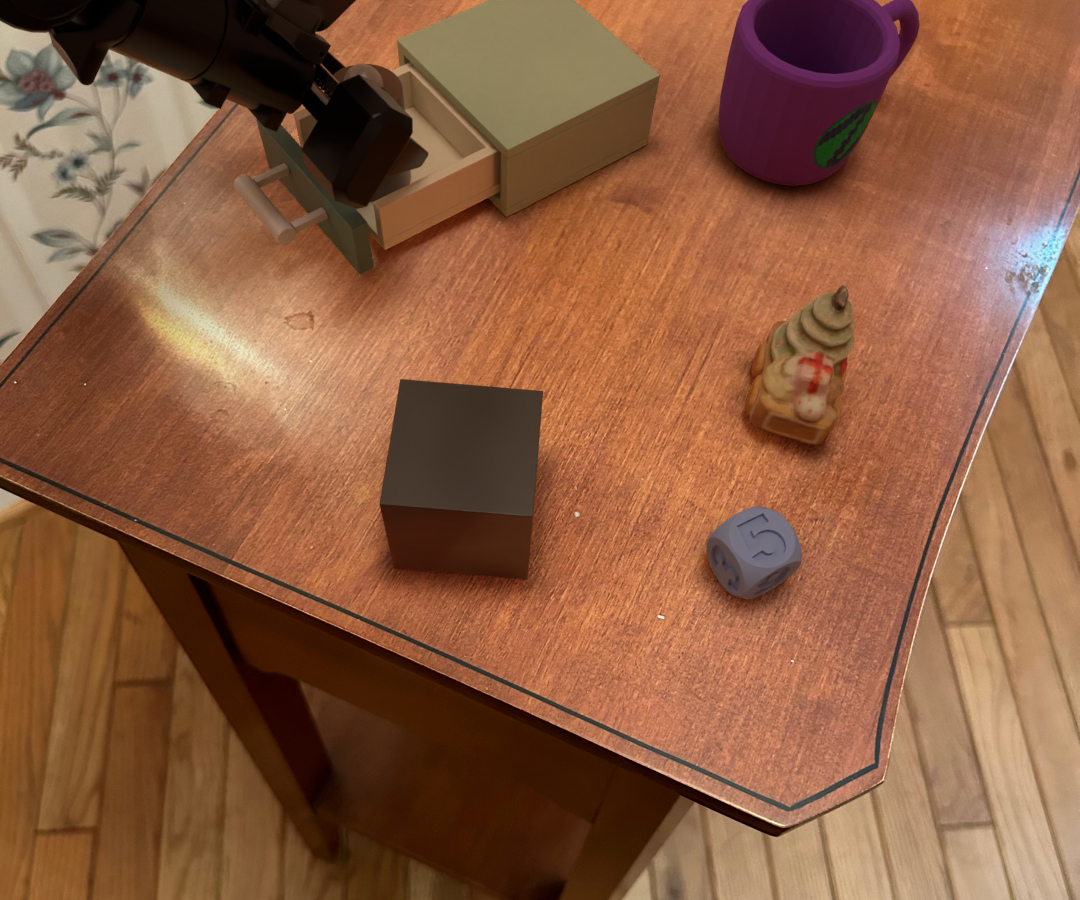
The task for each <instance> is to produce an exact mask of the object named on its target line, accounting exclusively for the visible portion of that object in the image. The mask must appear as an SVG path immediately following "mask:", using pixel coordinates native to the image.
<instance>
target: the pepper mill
mask: <svg viewBox="0 0 1080 900" xmlns="http://www.w3.org/2000/svg"><path fill="white" fill-rule="evenodd" d="M358 74H359V75H361V76H363V77H365V78H367V79H369V80H371V81H372V82H374V83H375V84H376V85H378V86H379V87H380V88H381V87H383V88H384V89H385V90H386V91H387V92H388V93H389V94H390V96H391V97H392V98H393V99H394V100H395V101H396V102H397V103H398V104H399V105H400V106H401V107H402V108H403V109H404V110H405V106H404V95H403V87H402V83H401V81H400V79H399V78H398V77H397V76H396V74H394V73H393V72H392V70H390V69H389V68H387V67H384V66H381V65H378V64H373V63H356V64H351V65H348V66H345V68H343V69H341V70H339V71H337V72H336V73H335V74H333V76H334V77H335V78H336V79H337V80H338V82H339V83H340V82H342V81H345V80H347V79H349V78H351V77H354V76H356V75H358ZM326 95H327V94H326ZM327 96H328V95H327ZM410 180H411V170H409V171H406V172H403V173H399V174H396V175H393V176H389V177H387V178H384V180H383V181H382V183H381V185H380V186H379V188H378V189H377V191H376V193H375V194H374V196H373V197H372V199H371V201H370V202H374V201H376V200H378V199H380V198H382V197H384V196H386V195H388V194H391V193H393V192H395V191H397V190H399V189H401V188H403V187H405V186H407V185H409V183H410Z"/></svg>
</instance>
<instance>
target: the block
mask: <svg viewBox="0 0 1080 900" xmlns="http://www.w3.org/2000/svg"><path fill="white" fill-rule="evenodd" d="M543 400H544V390H536V389H526V388H525V389H524V388H513V387H499V386H490V385H477V384H466V383H453V382H443V381H440V382H439V381H430V380H416V379H406V378H405V379H404V378H400V379H399V384H398V390H397V396H396V401H395V408H394V414H393V419H392V426H391V431H390V432H391V433H390V436H389V444H388V450H387V457H386V462H385V468H384V474H383V481H382V485H381V486H382V487H381V493H380V499H379V503H378V504H379V509H380V513H381V518H382V522H383V526H384V531H385V535H386V541H387V545H388V549H389V553H390V558H391V562H392V567H393V569H394V570H403V571H415V572H416V571H418V572H430V573H440V574H441V573H442V574H453V575H455V574H456V575H465V576H467V575H468V576H477V577H490V578H503V579H513V580H514V579H516V580H528V579H529V569H530V558H531V547H532V546H531V545H532V533H533V521H534V511H535V499H536V498H535V496H536V485H537V473H538V460H539V448H540V436H541V423H542V412H543Z"/></svg>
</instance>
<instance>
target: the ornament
mask: <svg viewBox="0 0 1080 900" xmlns="http://www.w3.org/2000/svg"><path fill="white" fill-rule="evenodd" d="M849 296H850V294H849V289H848V288H847V285H841V286H839V287H838V289H837V290H836V291H828V292H825V293H822V294H821V295H819V296H817V297H816V298H815V299H814V300H812V301H810V302H808V303H807V304H806V305H805V306H804V307H803V308H802V309H800V310H798V311H797V312H795V314H793V315H792V316H791V317H790V318H789V320H778V321H776V322H775V323H774V324H772V326H771V328H770V330H769V332H768V334H767V336H766V338H765V340H764V341H761V342H760V343H759V345H758V347H757V348H756V351H755V354H754V356H753V360H752V364H751V371H750V372H751V376H752V377H753V378H754V379H753V381H752V383H751V386H750V389H749V392H748V394H747V398H746V403H745V408H746V410H747V412H748V415H749V419H750V422H751V424H753V425H754V427H755V428H757V429H759V430H761V431H765V432H768V433H772V434H774V435H778V436H781V437H785V438H787V439H792V440H794V441H797V442H800V443H805V444H808V445H812V446H818V445H820V444H821V443H822V442H824V440H825V438H827V436H828V435H829V434H830V432H831V431H832V430H834V429H835V427H836V425H837V424H838V421H839V418H840V416H841V407H842V399H841V396H842V394H843V391H844V387H845V384H844V383H845V379H846V376H847V369H848V356H849V354H850V352H851V351H852V349H853V348H854V345H855V343H856V342H855V341H856V339H855V329H856V322H855V319H854V318H855V309H854V306H853V304H852V302H851V301H850V300H849Z"/></svg>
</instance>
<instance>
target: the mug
mask: <svg viewBox="0 0 1080 900" xmlns="http://www.w3.org/2000/svg"><path fill="white" fill-rule="evenodd" d="M897 21H899V31H898V27H897V25H896V23H895V22H897ZM920 25H921V23H920V16H919V11H918V9H917V7H916V5H915V4H914V2H913V0H890V1H889V2H887V3H885V4H884V5H881V4H880V3H879V2H878V1H876V0H746V1H745V3H743V5H742V6H741V8H740V11H739V14H738V16H737V19H736V23H735V27H734V31H733V35H732V39H731V43H730V46H729V50H728V55H727V59H726V65H725V70H724V75H723V81H722V85H721V91H720V97H719V104H718V136H719V139H720V142H721V144H722V147H723V149H724V152H725V154H726V155H727V156H728V157H729V159H730V160H731V161H732V162H733V164H735V165H736V166H737V167H739V168H740V169H741V170H742V171H744V172H745V173H747V174H748V175H750V176H752V177H755V178H756V179H759V180H761V181H764V182H766V183H771V184H775V185H779V186H780V185H781V186H790V187H791V186H794V187H795V186H803V185H811V184H814V183H817V182H820V181H822V180H825V179H827V178H829V177H830V176H831V175H832V174H834V173H835V172H837V171H838V170H839V169H840V168H841V167H843V165H844V164H845V162H846V161H847V159H848V158H849V157H850V156H851V154H852V153H853V152H854V150H855V148H856V147H857V145H858V144H859V142H860V141H861V139H862V137H863V135H864V134H865V132H866V131H867V128H868V126H869V123H870V122H871V121H872V120H871V119H872V118H873V116H874V113H875V111H876V109H877V107H878V105H879V103H880V101H881V100H882V97H883V95H884V93H885V91H886V88H887V85H888V83H889V81H890V79H891V78H892V76H893V75H894V74H895V73H896V71H898V69H899V68H900V66H901V65H902V64H903V62H904V61H905V59H906V57H907V56H908V54H909V52H910V51H911V49H912V47H913V46H914V44H915V42H916V41H917V38H918V34H919V29H920Z"/></svg>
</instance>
